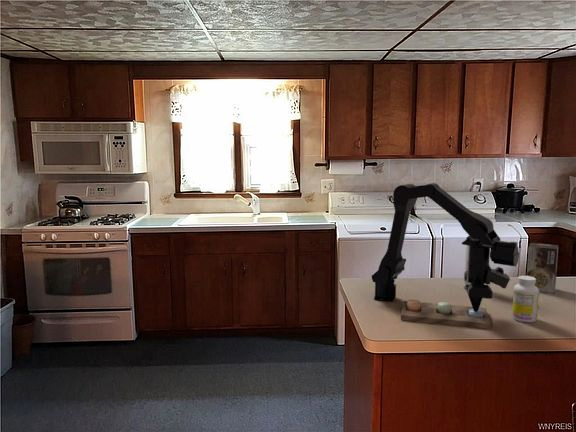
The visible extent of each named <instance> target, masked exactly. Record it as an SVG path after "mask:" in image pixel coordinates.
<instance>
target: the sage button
mask: <svg viewBox="0 0 576 432" xmlns="http://www.w3.org/2000/svg"><path fill="white" fill-rule="evenodd" d="M437 304H438V306H437V312H439V313H438V314H449V315H451V314H450V313H451V305H452V304H451V303H450V302H447V301H439V302H437Z"/></svg>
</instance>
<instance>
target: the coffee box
mask: <svg viewBox="0 0 576 432" xmlns="http://www.w3.org/2000/svg"><path fill="white" fill-rule="evenodd" d="M558 254H559V245H558V244H547V243H536V242H530V243H529V246H528V257H527V268H526V269H527V271H526V276H531V277H534V278H536V283H535V286H536V287H537V288H538V289H539V292H542V293H543V292H544V293H550V294H555V292H556V285H557V284H556V283H557V269H558V257H559V255H558Z"/></svg>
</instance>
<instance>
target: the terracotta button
mask: <svg viewBox="0 0 576 432" xmlns="http://www.w3.org/2000/svg"><path fill="white" fill-rule="evenodd" d="M406 301H407V309H408V310H407V311H416V312H421V311H420V307H421V301H420V300H419V299H415V298H414V299H413V298H412V299H408V300H406Z"/></svg>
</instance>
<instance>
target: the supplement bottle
mask: <svg viewBox="0 0 576 432" xmlns="http://www.w3.org/2000/svg"><path fill="white" fill-rule="evenodd" d="M517 281H518V283H517V284H515V285H514V286H513V296H512V297H513V299H512V309H511V310H512V312H511V316H512V318H513V319H514V320H516V321H519V322H522V323H533V322H534V323H535V322H536V321H537V319H538V309H539V297H540V296H539V294H540V291H539V289H538V288H537V287H536V286H535V283H536V278H534V277H531V276H527V275H519V276H518V277H517Z"/></svg>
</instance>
